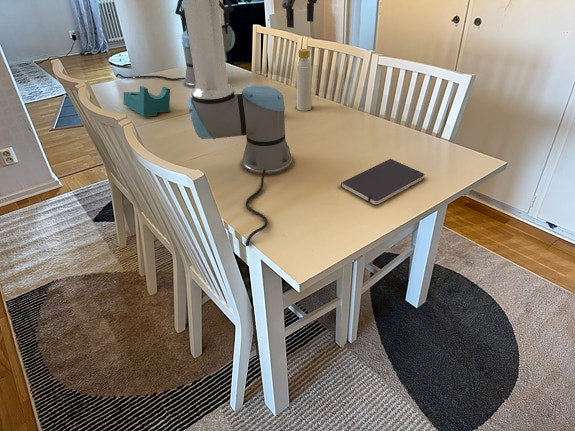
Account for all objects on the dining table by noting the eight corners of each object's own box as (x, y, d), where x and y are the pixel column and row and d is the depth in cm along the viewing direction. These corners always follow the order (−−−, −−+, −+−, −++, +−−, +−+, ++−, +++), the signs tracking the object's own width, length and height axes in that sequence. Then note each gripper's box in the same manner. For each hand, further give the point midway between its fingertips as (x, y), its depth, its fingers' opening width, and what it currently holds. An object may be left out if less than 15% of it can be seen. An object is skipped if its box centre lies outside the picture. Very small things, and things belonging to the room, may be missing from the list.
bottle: (311, 105, 166) (312, 49, 153) (311, 110, 161) (311, 53, 148) (297, 105, 166) (296, 49, 153) (296, 110, 161) (295, 53, 148)
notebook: (389, 163, 124) (340, 187, 113) (390, 158, 123) (341, 182, 112) (424, 178, 116) (375, 206, 105) (425, 174, 115) (376, 201, 104)
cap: (309, 55, 153) (309, 48, 152) (309, 58, 150) (309, 51, 148) (299, 55, 153) (299, 48, 152) (298, 58, 150) (298, 51, 149)
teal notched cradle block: (169, 115, 164) (170, 89, 159) (143, 115, 156) (144, 88, 152) (148, 104, 174) (148, 79, 170) (123, 104, 167) (123, 78, 163)
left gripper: (288, -36, 139) (289, 31, 151) (327, -41, 155) (325, 19, 167) (271, -36, 142) (273, 29, 155) (311, -41, 158) (310, 18, 171)
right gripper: (235, -37, 139) (241, 30, 152) (161, -34, 136) (173, 34, 148) (237, -35, 133) (242, 34, 145) (159, -32, 130) (172, 38, 142)
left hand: (300, 24), depth 161 cm, fingers open, 13 cm apart
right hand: (207, 34), depth 147 cm, fingers open, 13 cm apart
